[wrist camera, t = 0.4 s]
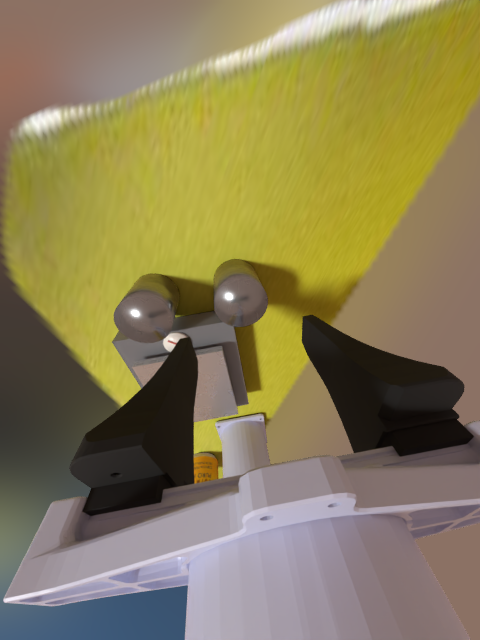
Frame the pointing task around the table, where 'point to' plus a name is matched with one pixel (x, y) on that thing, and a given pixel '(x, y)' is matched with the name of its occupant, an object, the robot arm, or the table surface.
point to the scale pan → (201, 383)
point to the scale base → (203, 335)
